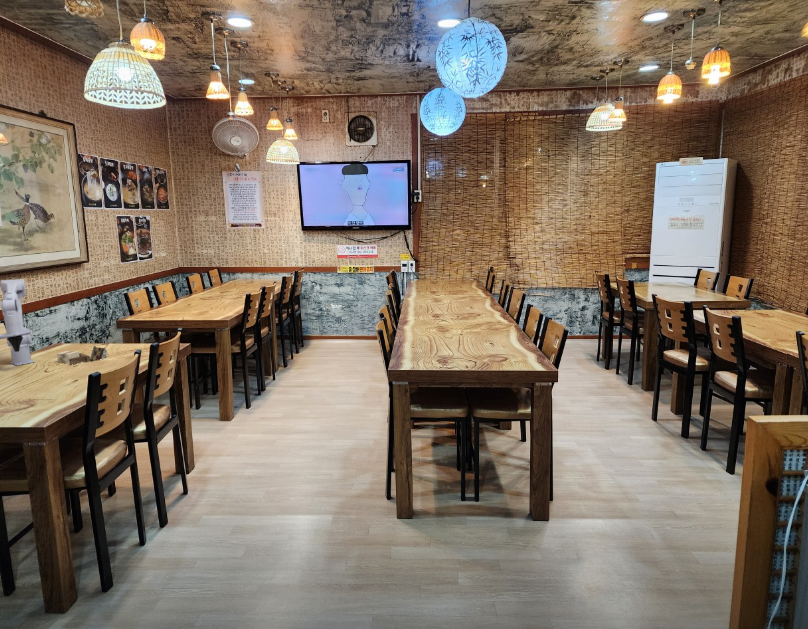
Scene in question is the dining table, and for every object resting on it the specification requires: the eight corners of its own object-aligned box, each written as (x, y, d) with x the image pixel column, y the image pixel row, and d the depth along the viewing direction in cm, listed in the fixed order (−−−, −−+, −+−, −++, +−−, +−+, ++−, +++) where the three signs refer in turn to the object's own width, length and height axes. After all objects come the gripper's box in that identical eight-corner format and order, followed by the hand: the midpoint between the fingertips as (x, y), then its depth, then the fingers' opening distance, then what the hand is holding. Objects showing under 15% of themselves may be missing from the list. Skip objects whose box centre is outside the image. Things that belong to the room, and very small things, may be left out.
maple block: (58, 362, 268) (56, 353, 267) (68, 359, 273) (67, 350, 272) (69, 363, 265) (68, 354, 264) (80, 360, 270) (78, 351, 270)
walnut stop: (57, 360, 272) (56, 354, 271) (74, 356, 278) (74, 351, 278) (72, 365, 261) (71, 359, 261) (90, 361, 268) (89, 355, 268)
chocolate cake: (104, 361, 270) (109, 342, 277) (89, 359, 267) (94, 340, 274) (103, 370, 276) (108, 351, 283) (88, 368, 273) (93, 349, 280)
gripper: (-3, 327, 243) (2, 355, 245) (33, 322, 254) (37, 349, 257) (-8, 326, 247) (-4, 353, 249) (27, 321, 258) (31, 347, 261)
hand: (17, 351), depth 253 cm, fingers closed
